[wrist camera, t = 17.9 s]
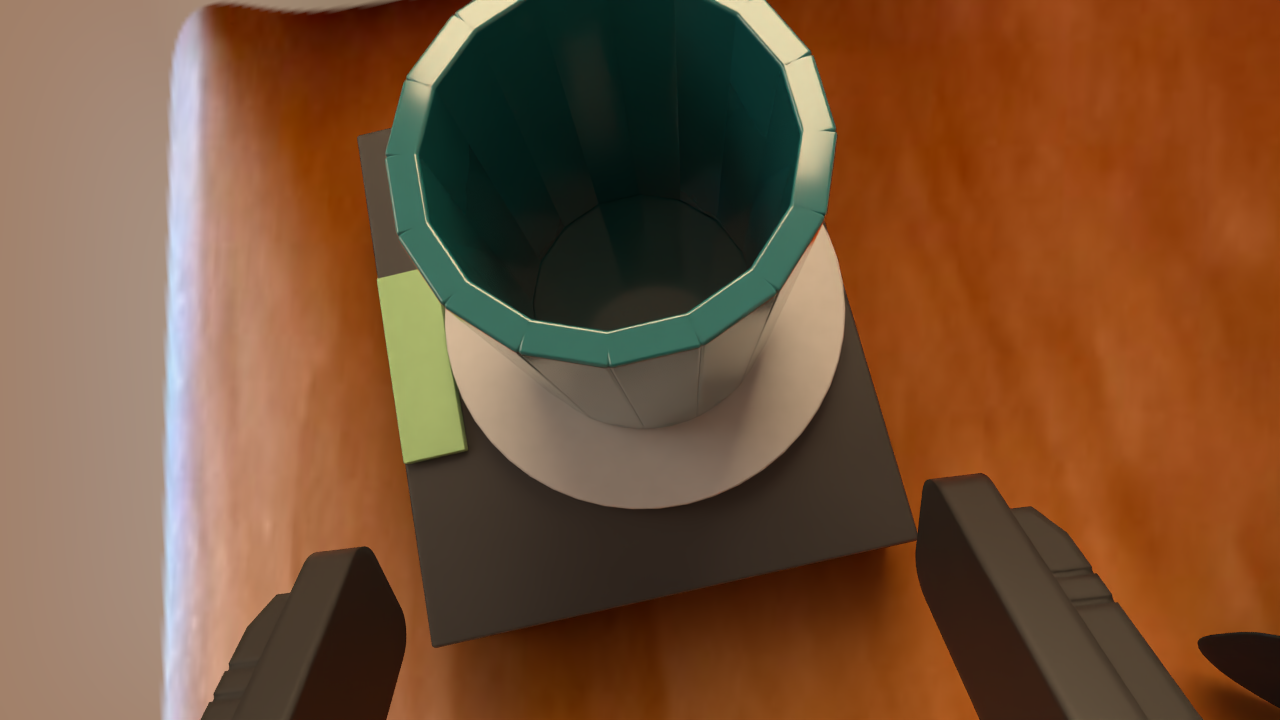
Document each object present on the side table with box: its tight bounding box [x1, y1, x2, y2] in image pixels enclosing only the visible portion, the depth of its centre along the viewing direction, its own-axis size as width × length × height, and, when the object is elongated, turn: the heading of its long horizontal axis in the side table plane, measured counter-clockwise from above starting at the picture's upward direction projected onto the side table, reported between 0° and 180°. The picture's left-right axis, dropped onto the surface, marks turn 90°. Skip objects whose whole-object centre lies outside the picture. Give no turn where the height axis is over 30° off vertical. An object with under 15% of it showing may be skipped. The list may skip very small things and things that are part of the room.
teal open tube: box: [385, 0, 837, 429], centre depth 14 cm, size 6×6×8 cm
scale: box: [357, 128, 918, 648], centre depth 19 cm, size 12×14×4 cm
